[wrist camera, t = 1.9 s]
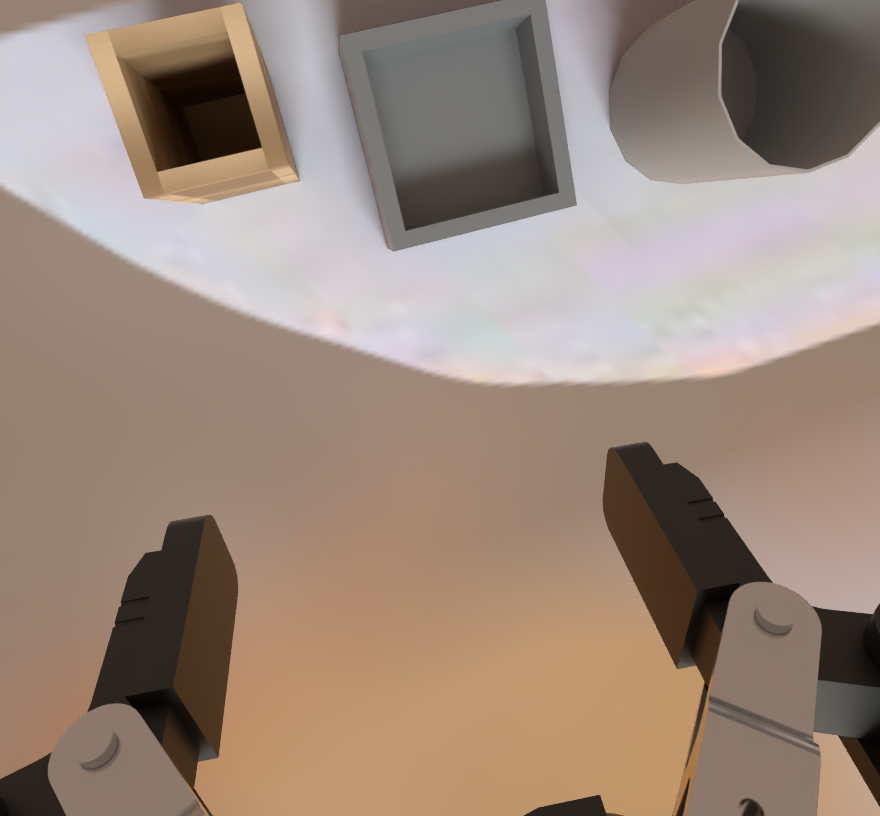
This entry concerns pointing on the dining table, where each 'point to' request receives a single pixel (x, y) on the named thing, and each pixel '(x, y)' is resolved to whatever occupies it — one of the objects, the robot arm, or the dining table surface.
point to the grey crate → (460, 120)
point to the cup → (748, 89)
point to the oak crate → (195, 106)
